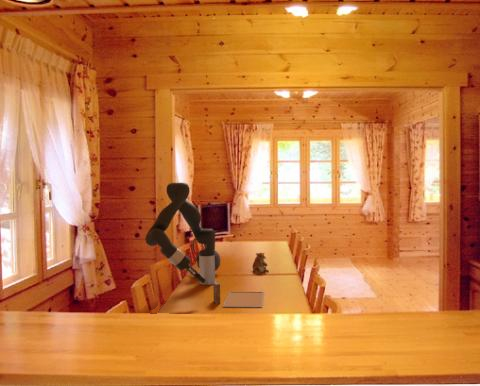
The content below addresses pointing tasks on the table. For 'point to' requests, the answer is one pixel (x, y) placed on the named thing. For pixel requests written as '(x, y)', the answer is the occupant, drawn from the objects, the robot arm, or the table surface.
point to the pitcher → (216, 256)
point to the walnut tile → (216, 292)
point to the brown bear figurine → (259, 264)
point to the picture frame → (244, 300)
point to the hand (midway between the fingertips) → (204, 281)
